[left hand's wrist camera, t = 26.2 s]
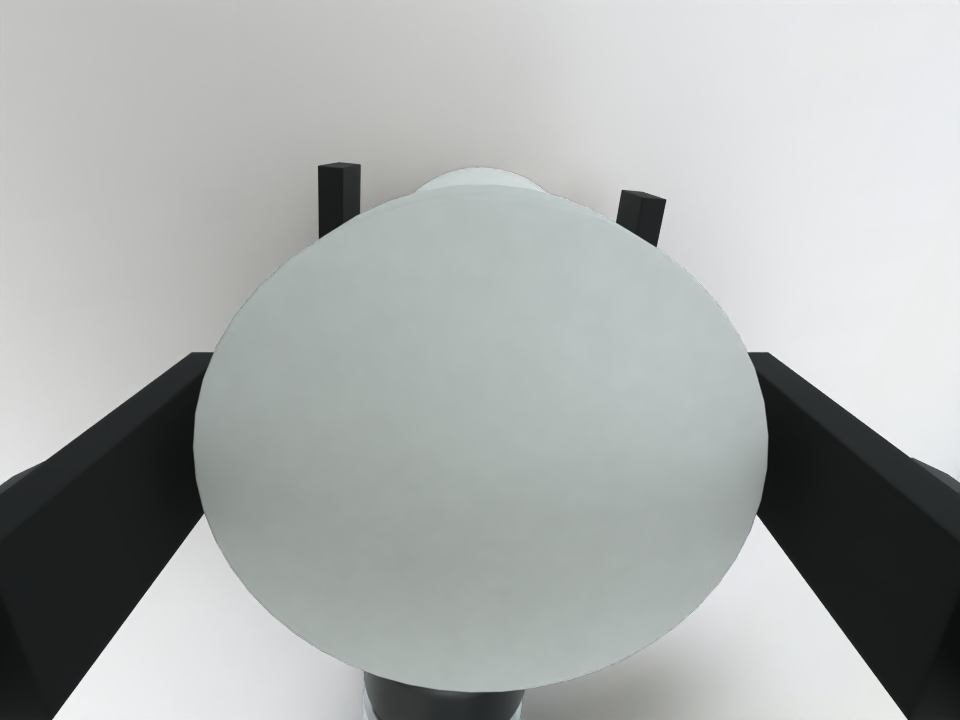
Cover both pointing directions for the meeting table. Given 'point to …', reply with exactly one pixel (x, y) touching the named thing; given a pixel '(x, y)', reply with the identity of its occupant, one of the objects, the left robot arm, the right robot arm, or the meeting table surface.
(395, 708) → the right robot arm
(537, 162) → the meeting table surface
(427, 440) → the lid
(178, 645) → the meeting table surface
